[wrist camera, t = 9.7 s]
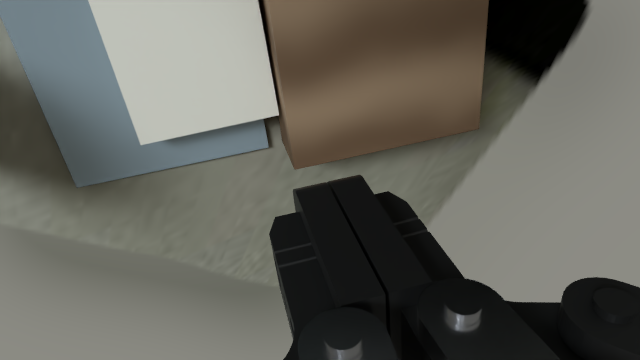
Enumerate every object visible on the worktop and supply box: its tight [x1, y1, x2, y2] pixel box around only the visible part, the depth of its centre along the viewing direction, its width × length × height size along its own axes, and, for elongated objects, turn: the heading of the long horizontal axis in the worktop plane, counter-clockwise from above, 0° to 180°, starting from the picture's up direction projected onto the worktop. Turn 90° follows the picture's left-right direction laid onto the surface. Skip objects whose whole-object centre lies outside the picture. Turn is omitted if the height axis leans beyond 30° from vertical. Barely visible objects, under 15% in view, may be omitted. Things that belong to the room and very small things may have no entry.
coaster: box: [88, 0, 279, 145], centre depth 26 cm, size 8×8×2 cm
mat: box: [0, 0, 269, 188], centre depth 26 cm, size 16×12×1 cm
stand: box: [259, 0, 489, 169], centre depth 27 cm, size 14×12×4 cm
